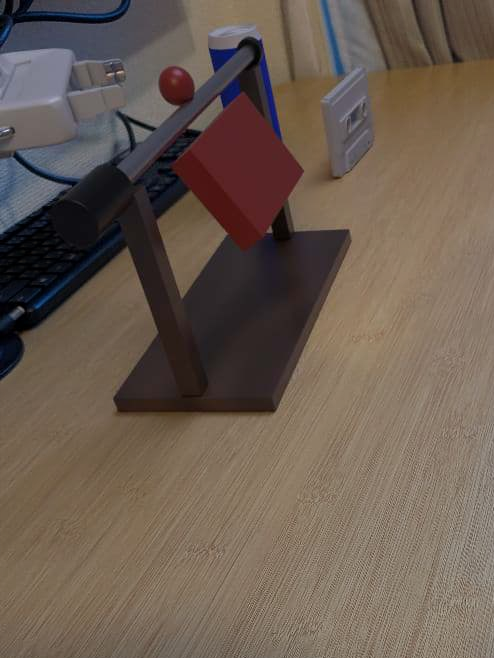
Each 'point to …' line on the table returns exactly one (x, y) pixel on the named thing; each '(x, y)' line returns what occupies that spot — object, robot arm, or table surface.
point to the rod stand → (228, 308)
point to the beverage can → (225, 48)
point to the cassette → (348, 121)
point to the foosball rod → (196, 162)
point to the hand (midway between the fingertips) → (124, 81)
